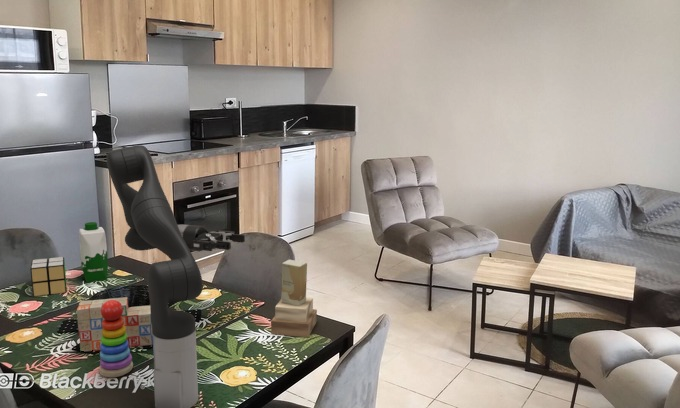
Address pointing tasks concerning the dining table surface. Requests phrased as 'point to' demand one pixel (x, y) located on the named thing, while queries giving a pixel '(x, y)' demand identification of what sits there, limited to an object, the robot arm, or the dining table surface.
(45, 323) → the dining table surface
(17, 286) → the dining table surface
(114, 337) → the stacking toy
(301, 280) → the skincare box
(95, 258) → the milk carton
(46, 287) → the puzzle cube
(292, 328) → the stepped wooden pedestal
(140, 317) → the stack of blocks
